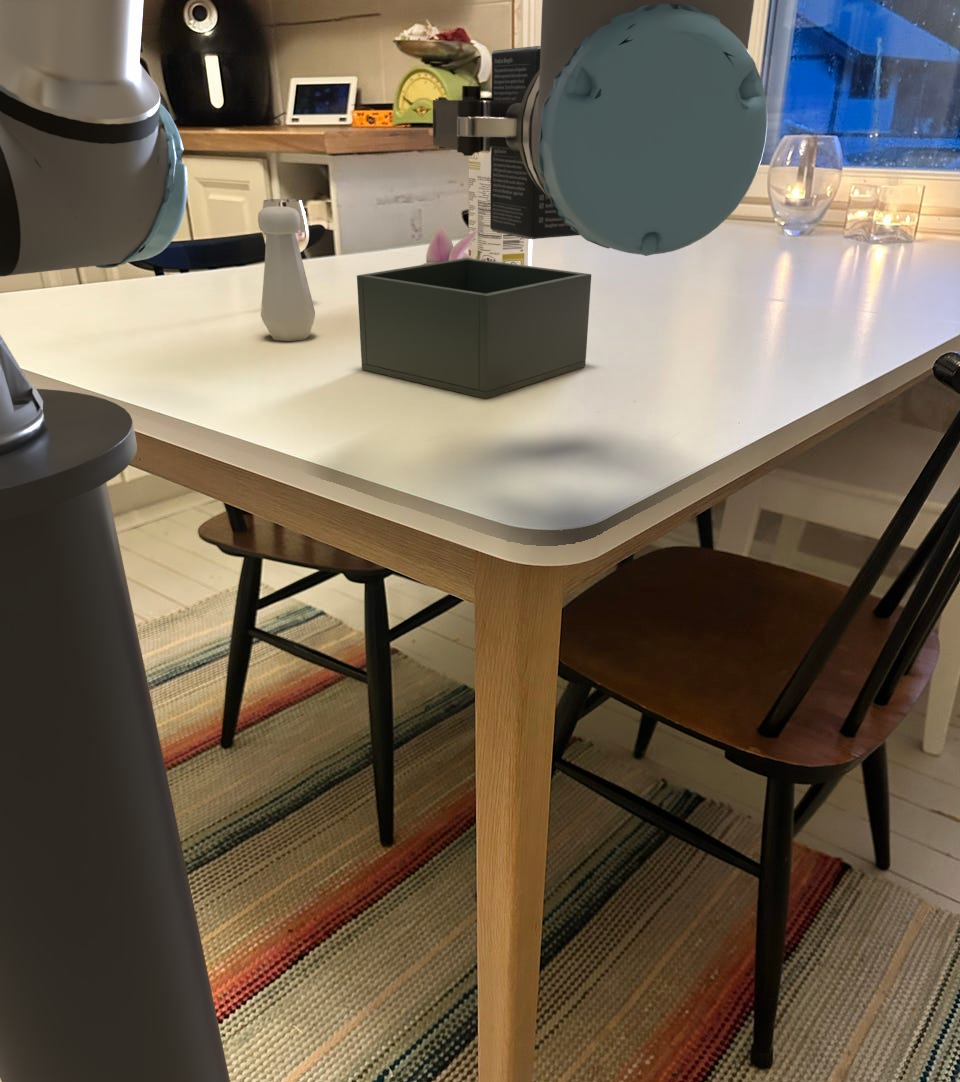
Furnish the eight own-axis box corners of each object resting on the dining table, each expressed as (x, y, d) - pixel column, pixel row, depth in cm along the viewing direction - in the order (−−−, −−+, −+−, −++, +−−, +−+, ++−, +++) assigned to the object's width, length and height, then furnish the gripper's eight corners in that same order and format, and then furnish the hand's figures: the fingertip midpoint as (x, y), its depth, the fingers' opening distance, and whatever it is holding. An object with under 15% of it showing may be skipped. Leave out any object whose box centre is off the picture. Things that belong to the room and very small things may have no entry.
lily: (489, 309, 121) (457, 238, 119) (518, 286, 110) (484, 207, 108) (409, 346, 118) (376, 274, 116) (431, 326, 107) (395, 246, 105)
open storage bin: (361, 369, 89) (356, 275, 85) (465, 342, 99) (465, 257, 95) (486, 399, 80) (487, 295, 76) (585, 366, 91) (591, 274, 86)
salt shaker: (324, 339, 100) (314, 208, 93) (274, 345, 97) (260, 210, 91) (305, 329, 104) (294, 203, 98) (256, 334, 102) (242, 205, 95)
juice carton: (488, 292, 126) (490, 135, 117) (463, 282, 133) (463, 133, 124) (536, 288, 129) (542, 134, 120) (509, 279, 136) (513, 133, 126)
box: (581, 226, 66) (592, 51, 61) (629, 235, 62) (645, 48, 56) (486, 231, 63) (489, 47, 57) (529, 241, 58) (537, 43, 53)
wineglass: (267, 300, 120) (257, 198, 113) (311, 298, 121) (303, 198, 115) (271, 308, 115) (260, 203, 109) (317, 306, 116) (309, 202, 110)
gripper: (372, 215, 45) (397, 180, 64) (814, 220, 46) (707, 184, 65) (364, 32, 41) (394, 54, 61) (846, 40, 42) (723, 59, 61)
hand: (556, 121), depth 63 cm, fingers closed on box, 9 cm apart
